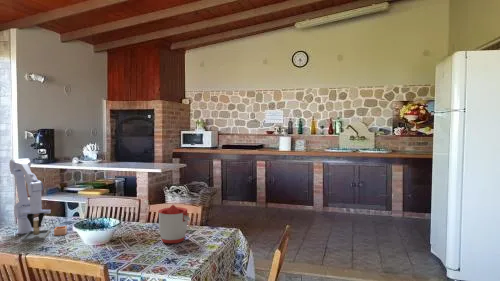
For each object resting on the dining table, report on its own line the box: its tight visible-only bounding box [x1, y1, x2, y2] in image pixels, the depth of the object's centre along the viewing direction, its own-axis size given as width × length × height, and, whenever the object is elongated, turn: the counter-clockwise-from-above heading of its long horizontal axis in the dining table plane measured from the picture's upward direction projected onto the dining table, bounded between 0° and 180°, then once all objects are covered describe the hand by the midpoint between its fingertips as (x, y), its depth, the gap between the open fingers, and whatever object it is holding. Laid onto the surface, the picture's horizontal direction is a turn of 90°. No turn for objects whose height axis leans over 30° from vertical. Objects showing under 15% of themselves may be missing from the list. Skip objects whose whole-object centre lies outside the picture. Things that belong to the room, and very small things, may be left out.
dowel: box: [33, 219, 40, 235], centre depth 205 cm, size 3×3×8 cm
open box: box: [53, 225, 68, 236], centre depth 210 cm, size 6×6×4 cm
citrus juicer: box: [157, 204, 191, 244], centre depth 199 cm, size 16×17×20 cm
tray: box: [20, 229, 51, 243], centre depth 205 cm, size 16×11×2 cm
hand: (36, 226), depth 205 cm, fingers closed on dowel, 3 cm apart
